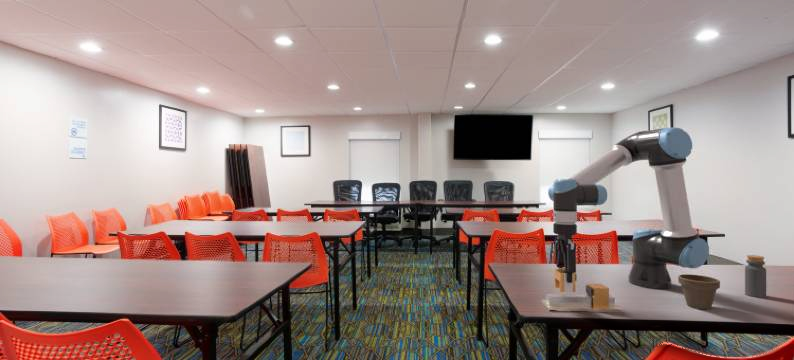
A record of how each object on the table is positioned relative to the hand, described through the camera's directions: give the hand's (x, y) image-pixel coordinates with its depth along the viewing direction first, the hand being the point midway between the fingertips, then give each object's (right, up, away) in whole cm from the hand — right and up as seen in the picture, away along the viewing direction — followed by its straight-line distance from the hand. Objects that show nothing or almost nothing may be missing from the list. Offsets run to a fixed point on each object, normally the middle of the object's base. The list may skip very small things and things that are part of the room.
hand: (564, 288), depth 130 cm
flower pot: (+47, -6, -1) cm, 47 cm away
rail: (+5, -6, 0) cm, 8 cm away
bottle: (+77, -6, +10) cm, 78 cm away
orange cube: (0, 0, 0) cm, 0 cm away
